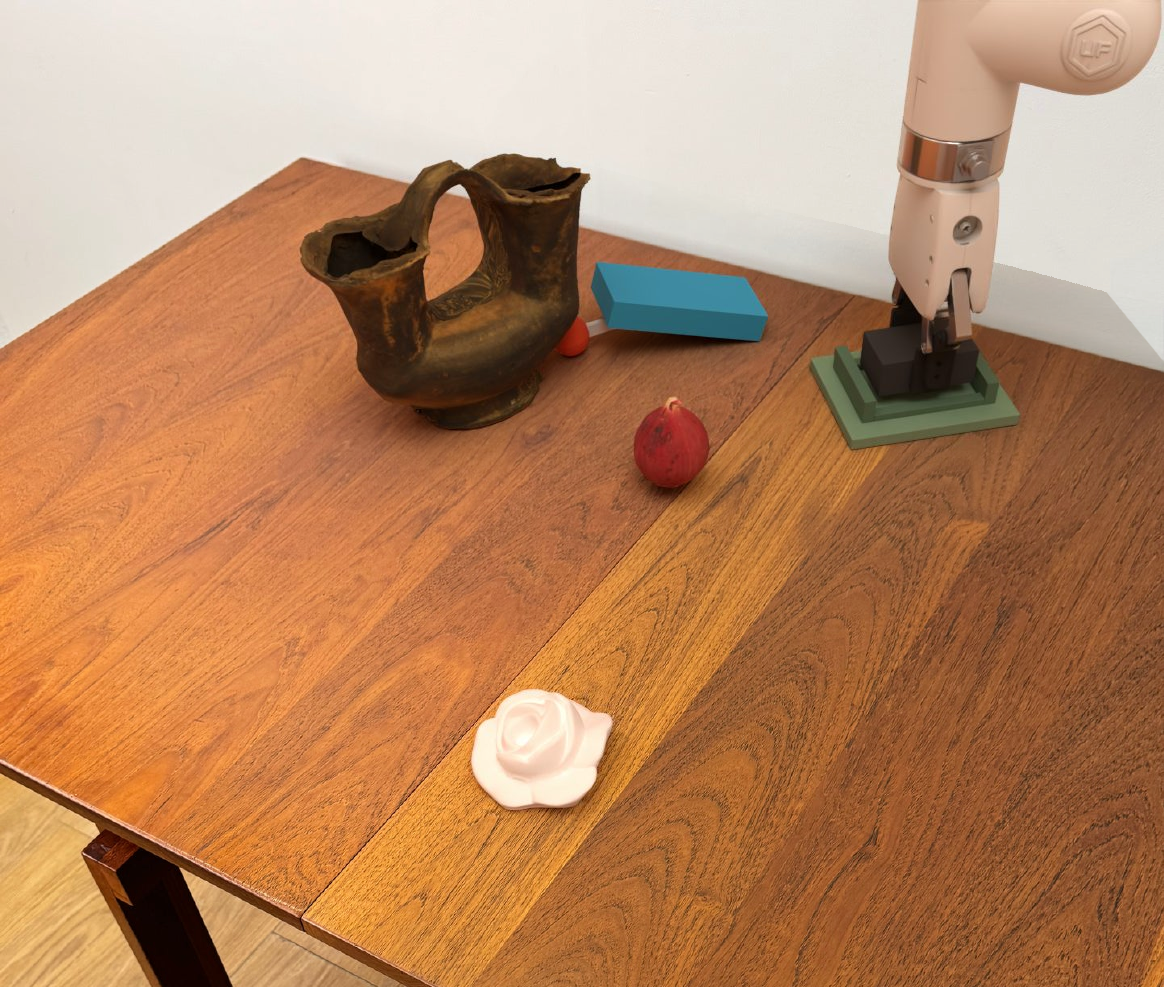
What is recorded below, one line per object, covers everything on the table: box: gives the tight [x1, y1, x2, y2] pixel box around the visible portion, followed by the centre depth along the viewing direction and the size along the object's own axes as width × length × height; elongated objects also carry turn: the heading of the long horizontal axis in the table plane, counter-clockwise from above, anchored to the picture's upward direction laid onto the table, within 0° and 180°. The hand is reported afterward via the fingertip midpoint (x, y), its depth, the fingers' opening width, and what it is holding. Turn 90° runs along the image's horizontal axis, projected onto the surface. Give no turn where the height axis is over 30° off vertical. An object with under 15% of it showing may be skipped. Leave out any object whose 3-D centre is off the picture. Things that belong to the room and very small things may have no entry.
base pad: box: [809, 344, 1021, 451], centre depth 104 cm, size 14×12×3 cm
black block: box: [860, 318, 980, 397], centre depth 102 cm, size 8×5×3 cm, turn 99°
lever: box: [555, 261, 769, 357], centre depth 112 cm, size 7×7×18 cm
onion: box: [633, 395, 711, 489], centre depth 96 cm, size 6×6×8 cm
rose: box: [470, 688, 614, 811], centre depth 81 cm, size 10×4×10 cm
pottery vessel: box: [299, 153, 591, 430], centre depth 101 cm, size 25×11×20 cm, turn 129°
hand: (917, 368), depth 103 cm, fingers closed on black block, 5 cm apart
